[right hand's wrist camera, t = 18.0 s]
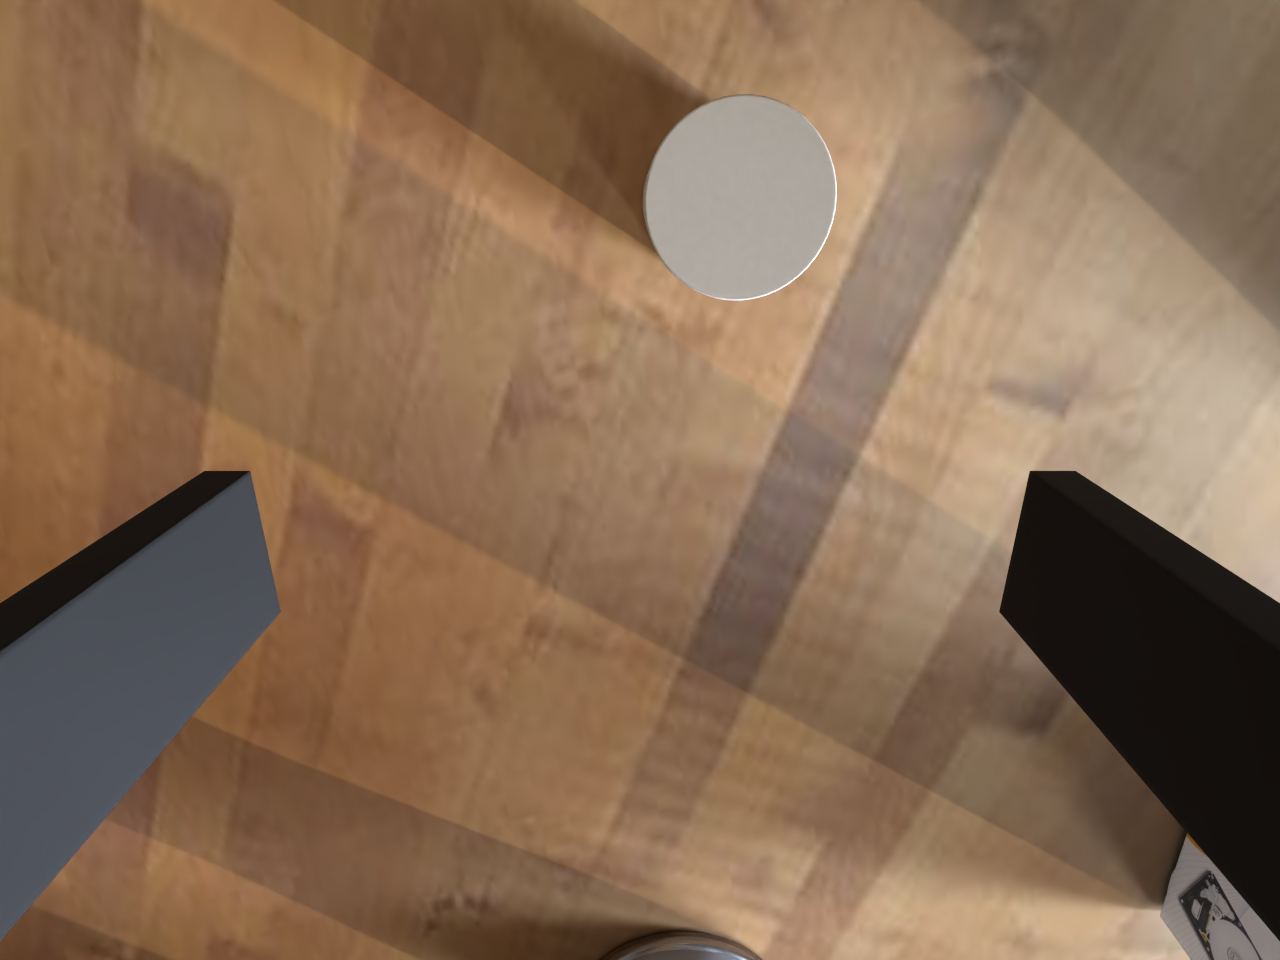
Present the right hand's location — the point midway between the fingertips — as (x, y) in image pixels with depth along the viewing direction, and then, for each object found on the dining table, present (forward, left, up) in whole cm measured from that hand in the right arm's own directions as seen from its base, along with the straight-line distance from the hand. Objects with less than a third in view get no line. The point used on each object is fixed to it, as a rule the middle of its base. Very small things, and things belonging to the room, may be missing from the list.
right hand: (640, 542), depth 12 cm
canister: (0, -7, -27) cm, 28 cm away
